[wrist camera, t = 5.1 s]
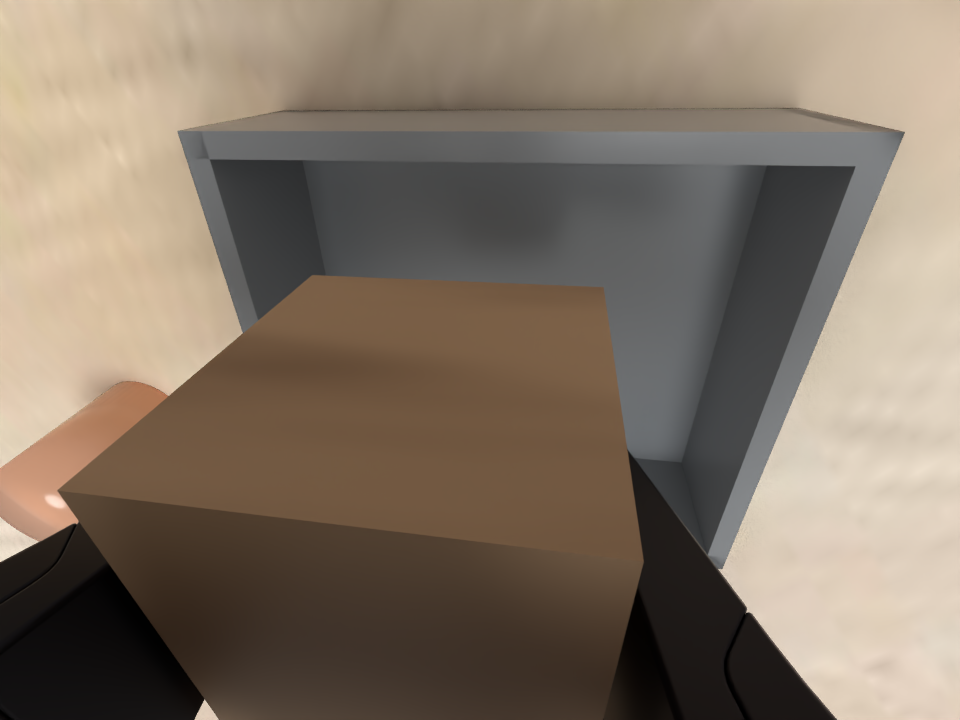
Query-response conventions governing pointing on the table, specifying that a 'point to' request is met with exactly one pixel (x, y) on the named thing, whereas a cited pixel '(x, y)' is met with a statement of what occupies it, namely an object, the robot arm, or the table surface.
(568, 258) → the tote
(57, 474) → the cylinder
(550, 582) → the cube
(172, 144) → the table surface
